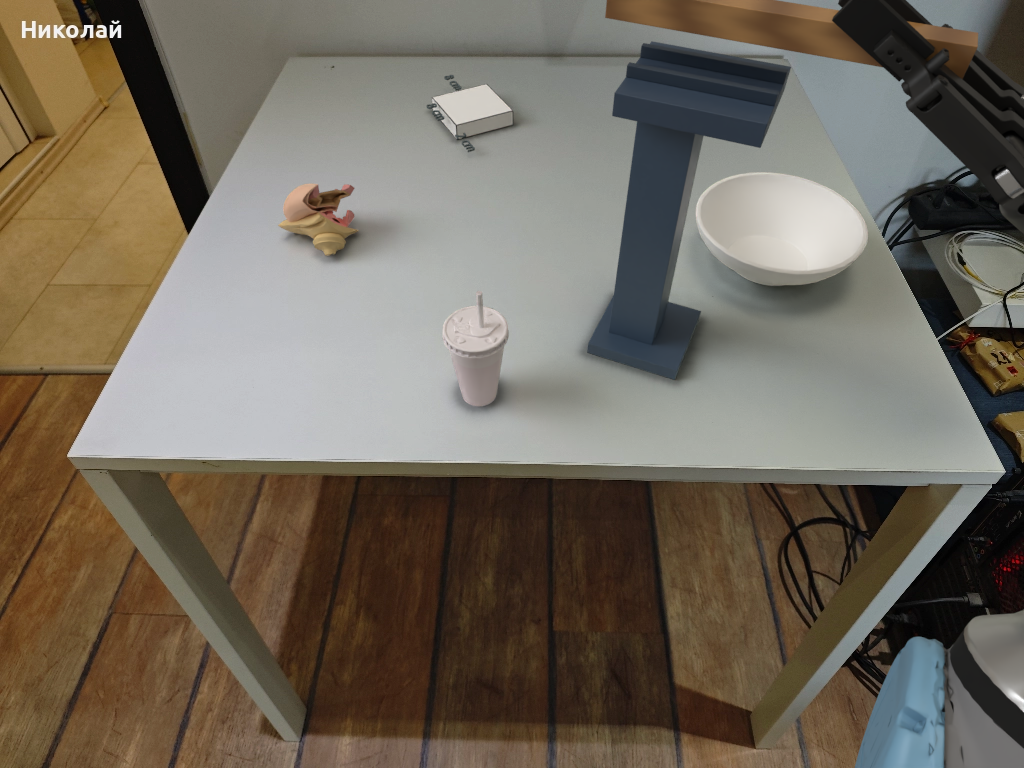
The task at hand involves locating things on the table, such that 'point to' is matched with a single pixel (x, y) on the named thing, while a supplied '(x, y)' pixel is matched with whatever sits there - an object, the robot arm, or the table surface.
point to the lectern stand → (673, 186)
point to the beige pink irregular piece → (318, 216)
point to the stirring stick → (780, 27)
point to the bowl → (780, 228)
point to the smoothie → (476, 350)
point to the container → (471, 111)
